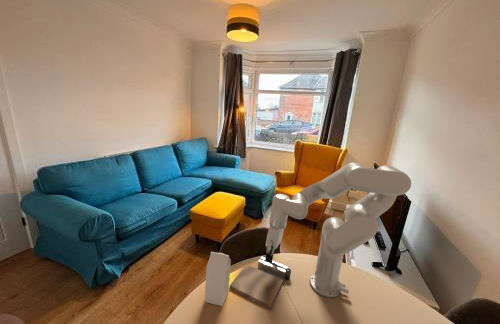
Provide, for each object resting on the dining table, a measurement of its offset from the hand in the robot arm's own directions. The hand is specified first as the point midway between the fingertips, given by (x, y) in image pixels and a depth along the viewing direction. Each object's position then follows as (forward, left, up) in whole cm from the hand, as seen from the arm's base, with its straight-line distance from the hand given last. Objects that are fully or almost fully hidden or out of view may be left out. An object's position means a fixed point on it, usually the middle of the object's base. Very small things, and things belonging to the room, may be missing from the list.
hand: (272, 255), depth 96 cm
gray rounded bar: (-2, 0, -8) cm, 8 cm away
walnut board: (+2, +11, -8) cm, 14 cm away
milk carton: (+13, +25, -8) cm, 29 cm away
